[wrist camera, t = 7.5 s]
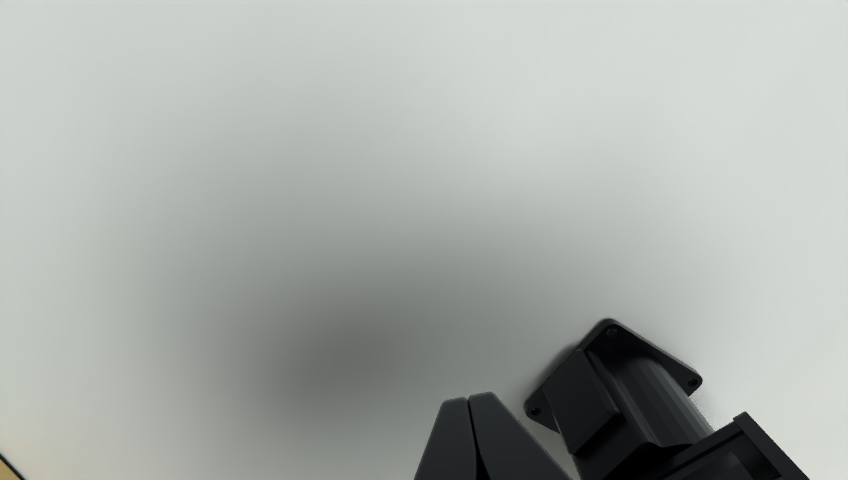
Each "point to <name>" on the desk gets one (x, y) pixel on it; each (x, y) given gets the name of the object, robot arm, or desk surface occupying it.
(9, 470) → the puzzle cube
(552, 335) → the desk surface
